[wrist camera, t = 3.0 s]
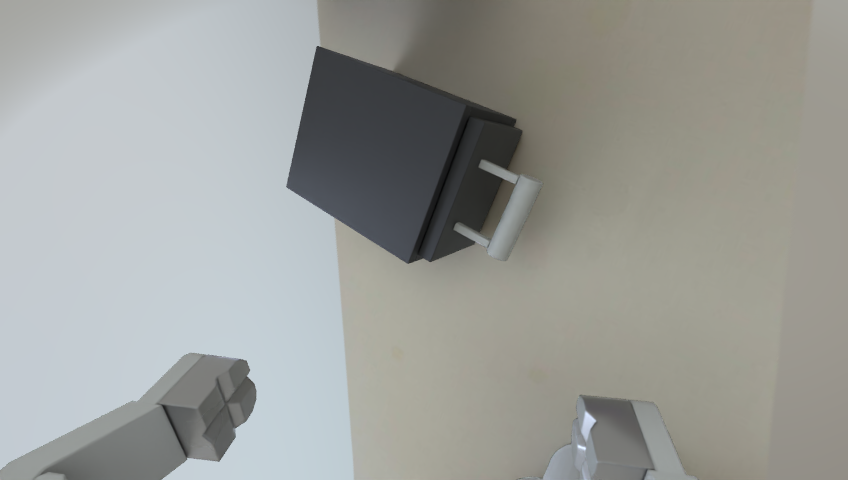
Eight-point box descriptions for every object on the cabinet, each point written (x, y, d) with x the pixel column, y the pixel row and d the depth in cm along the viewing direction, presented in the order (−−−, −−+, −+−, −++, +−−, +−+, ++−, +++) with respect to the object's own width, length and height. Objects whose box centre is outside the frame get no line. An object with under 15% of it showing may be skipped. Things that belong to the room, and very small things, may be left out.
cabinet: (516, 119, 33) (466, 104, 25) (465, 242, 38) (408, 264, 29) (391, 70, 39) (316, 45, 31) (359, 182, 43) (285, 187, 35)
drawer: (577, 152, 30) (551, 148, 24) (519, 269, 34) (483, 294, 28) (403, 83, 37) (345, 65, 31) (371, 187, 41) (314, 191, 34)
